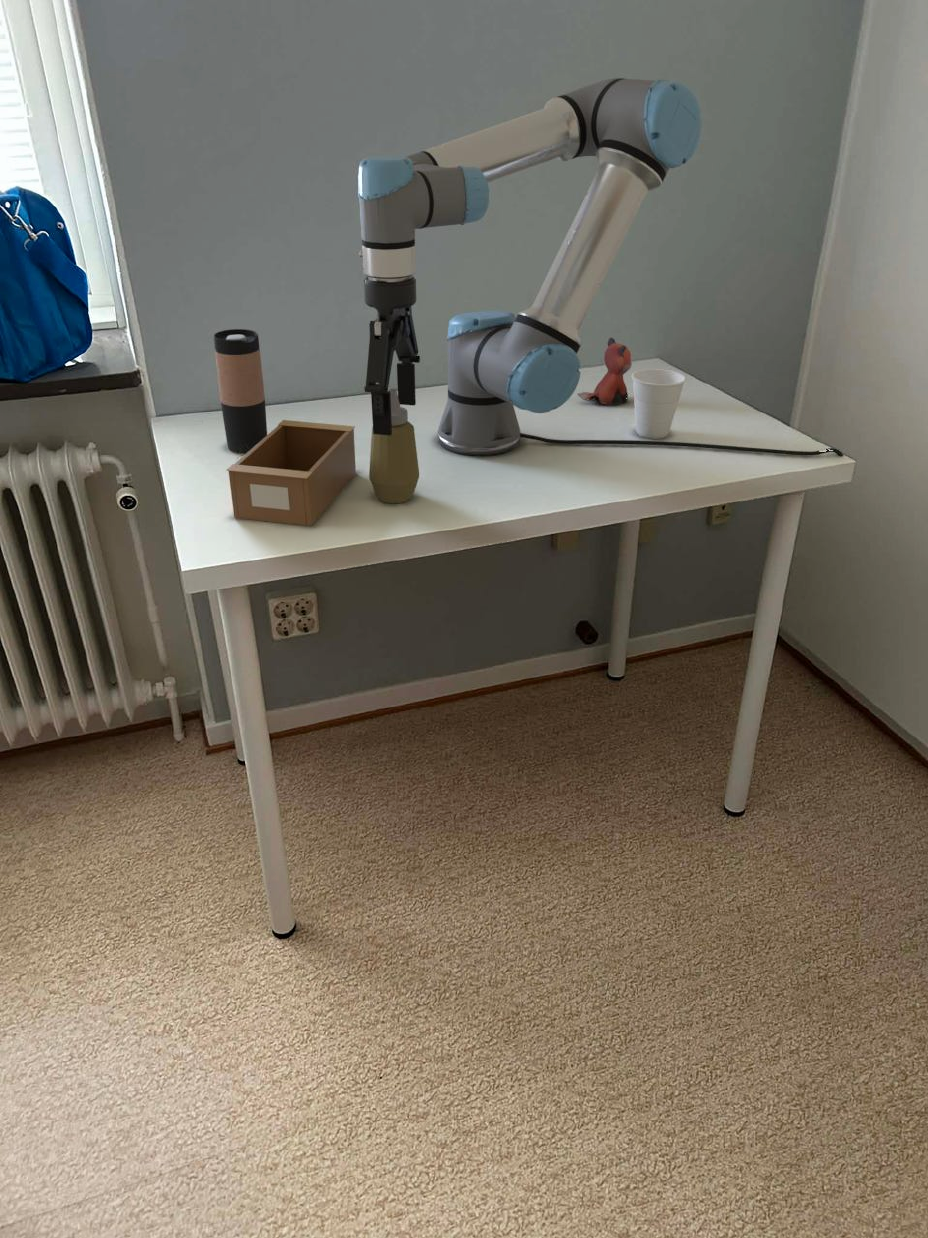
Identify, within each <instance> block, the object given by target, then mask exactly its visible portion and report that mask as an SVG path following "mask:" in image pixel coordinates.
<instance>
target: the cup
mask: <svg viewBox="0 0 928 1238" xmlns="http://www.w3.org/2000/svg"><path fill="white" fill-rule="evenodd" d="M631 379H632V387H633V401H634V402H633V404H634V419H635V421H634V422H635V423H634V424H635V432H636V433H637V435H638V436H639V437H642V438H645V439H650V440H651V439H652V440H659V439H663V438H666V437H667V436H668V435H669V434H670V431H671V427H672V425H673V420H674V417H675V413H676V410H677V408H678V404H679V400H680V398H681V395H682V391H683V387H684V385H685V383H686V382H687V378H686V376H685V375H684V374H682V373H680V372H678V371H674V370H670V369H663V368H645V369H639V370H636V371H634V372H633V373H631Z"/></svg>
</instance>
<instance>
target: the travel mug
mask: <svg viewBox="0 0 928 1238" xmlns="http://www.w3.org/2000/svg"><path fill="white" fill-rule="evenodd" d="M213 344H214V353H215V361H216V370H217V371H216V372H217V381H218V391H219V399H220V406H221V407H220V408H221V412H222V419H223V425H224V431H225V432H224V433H225V438H226V439H225V440H226V445H227V448H228V450H229V451H230V452H232V453H236V454H237V453H238V454H246V453H247V452H249V451H250V450H251V449H252V448H253V447H254V446H255V445H257V444H258V443H259V442H260V441H261V440H262V439H263V438H265V437H266V436H267V435H268V427H267V411H266V410H267V409H266V395H265V385H264V378H263V377H264V376H263V368H262V357H261V349H260V338H259V334H258V332H257V331H255V330H251V329H245V328H233V329H225V330H221V331H220V330H219V331H218V332H216V333H214V334H213Z"/></svg>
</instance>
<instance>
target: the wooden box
mask: <svg viewBox="0 0 928 1238" xmlns="http://www.w3.org/2000/svg"><path fill="white" fill-rule="evenodd" d="M355 428H356V426H355V425H346V424H345V425H343V424H333V423H322V422H313V421H312V422H311V421H302V420H301V421H299V420H289V419H282V420H281V421H280V422H279V423H278V424H277V426H276V427H275V428H273V430H271V431H270V432H269V433H267V436H266V437H265V438H263V439H262V440H261V441H260V442H259V443H258V444H257V445H255V446H254V447H253V448H252V449H251V450H250V451H249V452H247V453H244V455H243V456H241V458H239V459H238V460H237V461H236V462H235V463H232V464H231V465H230V466H229V467H227V468H226V470H225V471H227V472H228V478H229V486H230V495H231V502H232V503H231V504H232V511H233V512H232V513H233V519H241V520H243V519H244V520H251V521H260V522H269V523H277V524H287V525H295V526H307V527H312V526H313V525H314V524H315V523H316V522H317V520H318V519H319V518H320V517H321V516H322V515H323V513H324V512H325V511H326V510H327V508H328V507H330V505H331V504H332V503H333V501H334V500H335V499H336V498H337V496H338V495H339V494H340V493H341V492H342V491H343V490H344V488H345V487H346V486H347V485H348V483H349V482H351V480H352V479H353V477H354V476H355V475H356V473H357V470H356V469H357V468H356V466H357V465H356V450H355V449H356V448H355V447H356V445H355Z"/></svg>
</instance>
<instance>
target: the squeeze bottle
mask: <svg viewBox="0 0 928 1238" xmlns="http://www.w3.org/2000/svg"><path fill="white" fill-rule="evenodd" d="M388 391H390V395H391V419H392V435H378V434H373V426H372V427H371V440H370V441H371V442H370V455H369V473H368V478H369V481H370V483H371V486H372V489H373V491H374V494H375V496H376V498H377V499H378V500H379V501H381V502H384V503H388V504H399V503H405V502H407V501H409V500H411V499H412V498H413V497H414V493H415V491H416V489H417V484H418V481H419V479H420V468H419V460H418V452H417V451H418V450H417V444H416V443H417V442H416V435H415V434H416V433H415V427H414V425H413V424H412V423H411V422H410V421H408V417H409V415H408V409H407V408H405V407H403V406H401V405H400V403H399V399H398V390H397V387H396V386H392V385H391V386H388Z"/></svg>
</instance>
